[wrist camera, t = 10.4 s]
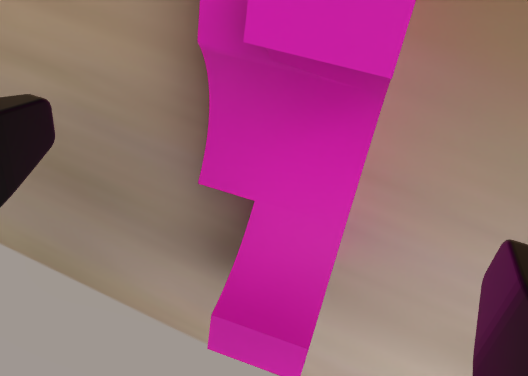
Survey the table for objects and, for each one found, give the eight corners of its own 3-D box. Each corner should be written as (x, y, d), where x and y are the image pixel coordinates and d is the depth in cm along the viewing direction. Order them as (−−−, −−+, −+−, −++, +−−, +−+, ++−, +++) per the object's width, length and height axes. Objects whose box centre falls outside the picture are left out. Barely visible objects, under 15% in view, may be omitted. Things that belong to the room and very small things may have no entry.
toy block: (257, -108, 17) (154, -100, 11) (435, -74, 16) (429, -44, 10) (220, 221, 26) (150, 327, 20) (334, 258, 25) (298, 382, 18)
